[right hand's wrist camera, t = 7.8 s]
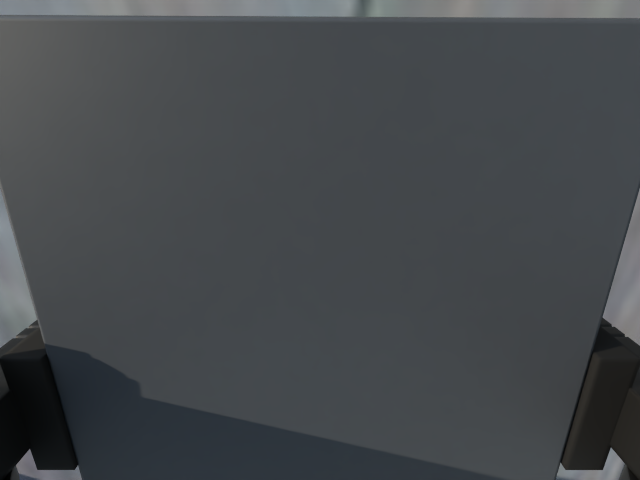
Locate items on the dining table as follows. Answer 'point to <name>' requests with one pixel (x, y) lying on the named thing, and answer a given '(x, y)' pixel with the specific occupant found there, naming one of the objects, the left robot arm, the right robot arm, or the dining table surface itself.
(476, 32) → the wide beam
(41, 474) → the dining table surface
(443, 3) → the dining table surface
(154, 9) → the dining table surface
